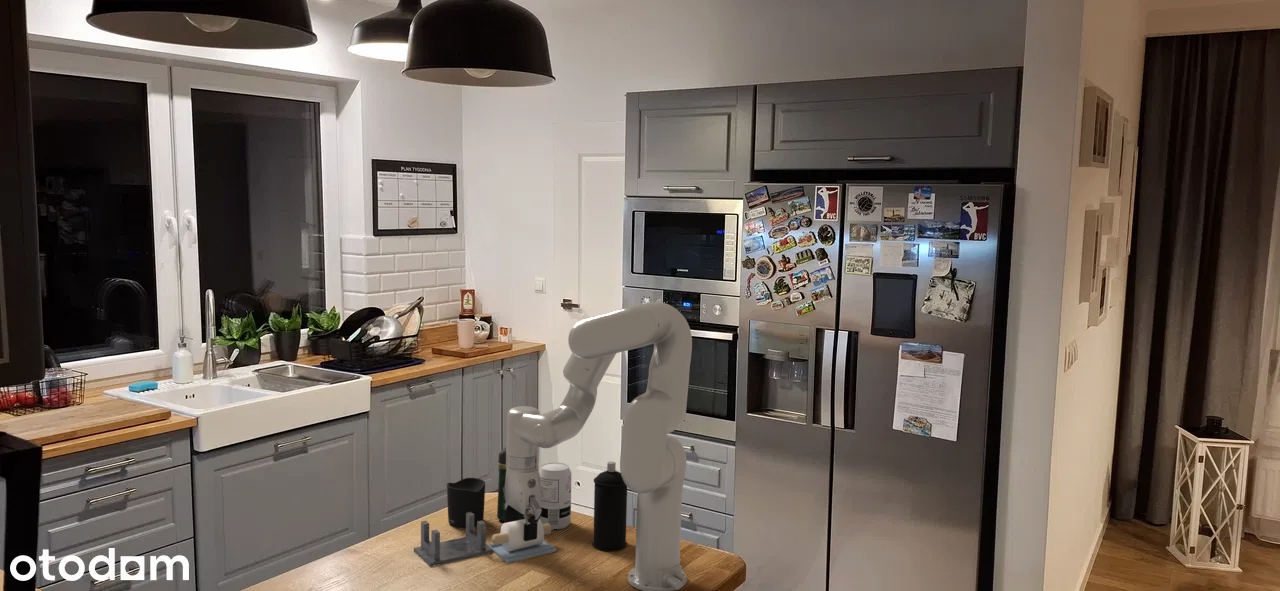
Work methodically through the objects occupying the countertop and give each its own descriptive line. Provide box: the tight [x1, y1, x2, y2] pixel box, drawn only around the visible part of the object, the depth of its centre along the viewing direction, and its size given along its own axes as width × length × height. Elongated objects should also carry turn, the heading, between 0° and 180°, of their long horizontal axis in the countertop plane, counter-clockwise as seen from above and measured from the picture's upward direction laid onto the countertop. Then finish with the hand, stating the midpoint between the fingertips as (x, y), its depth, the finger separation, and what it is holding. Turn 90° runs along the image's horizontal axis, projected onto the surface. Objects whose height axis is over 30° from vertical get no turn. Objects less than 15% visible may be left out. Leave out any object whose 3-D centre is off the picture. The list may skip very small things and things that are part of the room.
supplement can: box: [538, 462, 572, 531], centre depth 215 cm, size 8×8×15 cm
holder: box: [413, 512, 494, 567], centre depth 197 cm, size 15×10×7 cm, turn 125°
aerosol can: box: [592, 461, 628, 552], centre depth 203 cm, size 8×8×20 cm
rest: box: [487, 540, 557, 564], centre depth 200 cm, size 13×10×1 cm
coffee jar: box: [496, 447, 531, 522], centre depth 220 cm, size 10×8×19 cm
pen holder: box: [446, 477, 486, 529], centre depth 216 cm, size 9×9×10 cm
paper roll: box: [491, 519, 552, 552], centre depth 199 cm, size 14×6×6 cm, turn 125°
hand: (520, 532), depth 200 cm, fingers open, 9 cm apart
